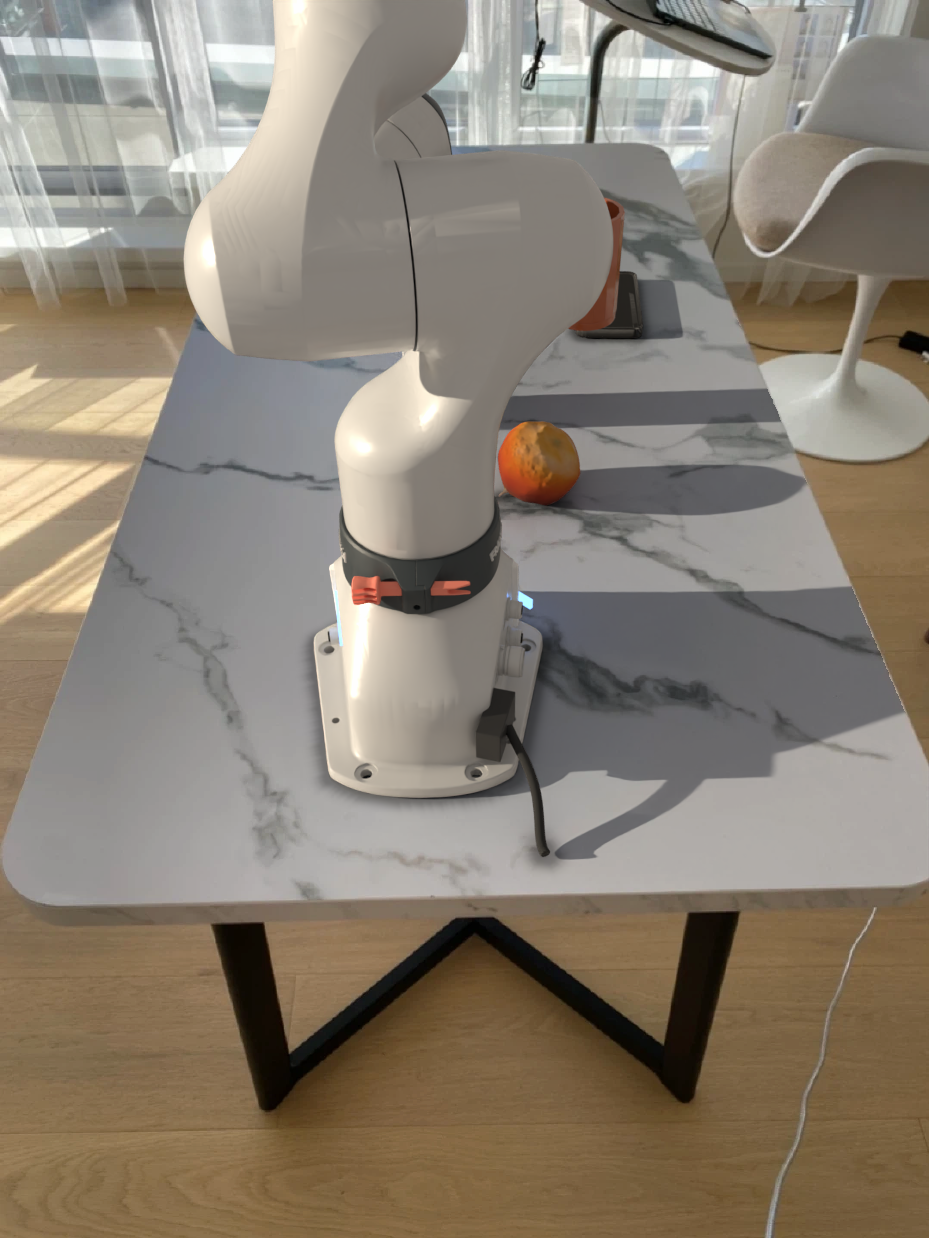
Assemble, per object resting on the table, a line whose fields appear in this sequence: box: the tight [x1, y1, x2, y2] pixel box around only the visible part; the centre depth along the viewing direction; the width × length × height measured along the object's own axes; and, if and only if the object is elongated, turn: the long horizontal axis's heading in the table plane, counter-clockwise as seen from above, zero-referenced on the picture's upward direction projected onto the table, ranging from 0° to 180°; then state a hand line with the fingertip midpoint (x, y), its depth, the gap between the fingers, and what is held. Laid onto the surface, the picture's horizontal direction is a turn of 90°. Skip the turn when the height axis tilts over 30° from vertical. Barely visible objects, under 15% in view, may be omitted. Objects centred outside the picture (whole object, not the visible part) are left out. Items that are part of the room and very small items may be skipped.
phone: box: [575, 270, 644, 339], centre depth 128 cm, size 8×1×15 cm
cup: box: [567, 197, 626, 331], centre depth 104 cm, size 7×7×11 cm
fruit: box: [497, 421, 581, 507], centre depth 100 cm, size 8×8×8 cm
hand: (594, 261), depth 104 cm, fingers closed on cup, 7 cm apart
